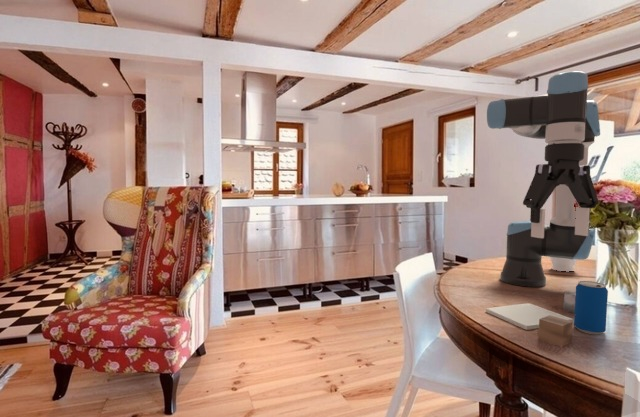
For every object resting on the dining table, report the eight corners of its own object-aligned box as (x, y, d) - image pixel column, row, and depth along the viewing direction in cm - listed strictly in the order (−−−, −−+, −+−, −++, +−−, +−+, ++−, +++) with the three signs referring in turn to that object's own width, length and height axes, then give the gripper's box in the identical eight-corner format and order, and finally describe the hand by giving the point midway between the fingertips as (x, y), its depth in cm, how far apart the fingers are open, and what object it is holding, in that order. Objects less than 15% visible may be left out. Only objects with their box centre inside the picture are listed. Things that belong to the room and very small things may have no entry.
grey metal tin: (573, 306, 112) (574, 290, 112) (593, 313, 107) (594, 296, 106) (558, 308, 111) (559, 292, 110) (577, 315, 105) (578, 298, 104)
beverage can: (606, 337, 89) (609, 288, 89) (574, 332, 93) (576, 284, 92) (603, 329, 95) (606, 282, 94) (573, 323, 98) (575, 279, 97)
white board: (528, 306, 112) (528, 303, 112) (573, 322, 99) (573, 319, 99) (485, 311, 107) (485, 308, 107) (526, 329, 94) (526, 326, 94)
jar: (577, 269, 162) (579, 235, 161) (578, 274, 153) (580, 238, 152) (548, 266, 168) (550, 233, 167) (548, 270, 159) (549, 236, 158)
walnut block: (548, 335, 91) (549, 315, 91) (571, 342, 87) (572, 321, 86) (538, 339, 88) (539, 319, 88) (561, 347, 84) (562, 325, 84)
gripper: (536, 139, 77) (532, 240, 78) (620, 144, 85) (615, 236, 86) (507, 143, 84) (504, 236, 86) (587, 147, 92) (583, 232, 93)
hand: (559, 236), depth 86 cm, fingers open, 13 cm apart
